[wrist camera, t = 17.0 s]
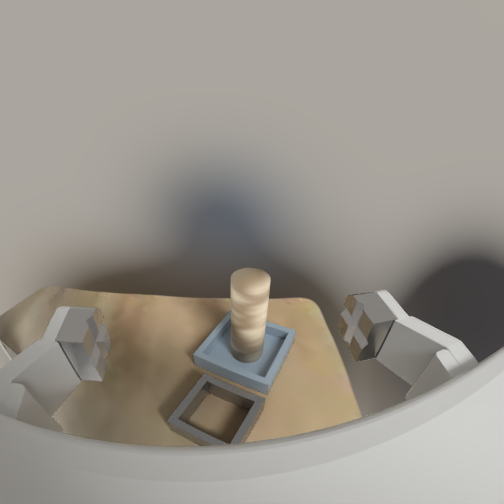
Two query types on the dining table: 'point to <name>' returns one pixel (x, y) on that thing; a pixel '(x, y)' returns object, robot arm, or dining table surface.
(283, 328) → the tray
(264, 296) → the peg
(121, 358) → the dining table surface
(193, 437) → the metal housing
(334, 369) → the dining table surface
